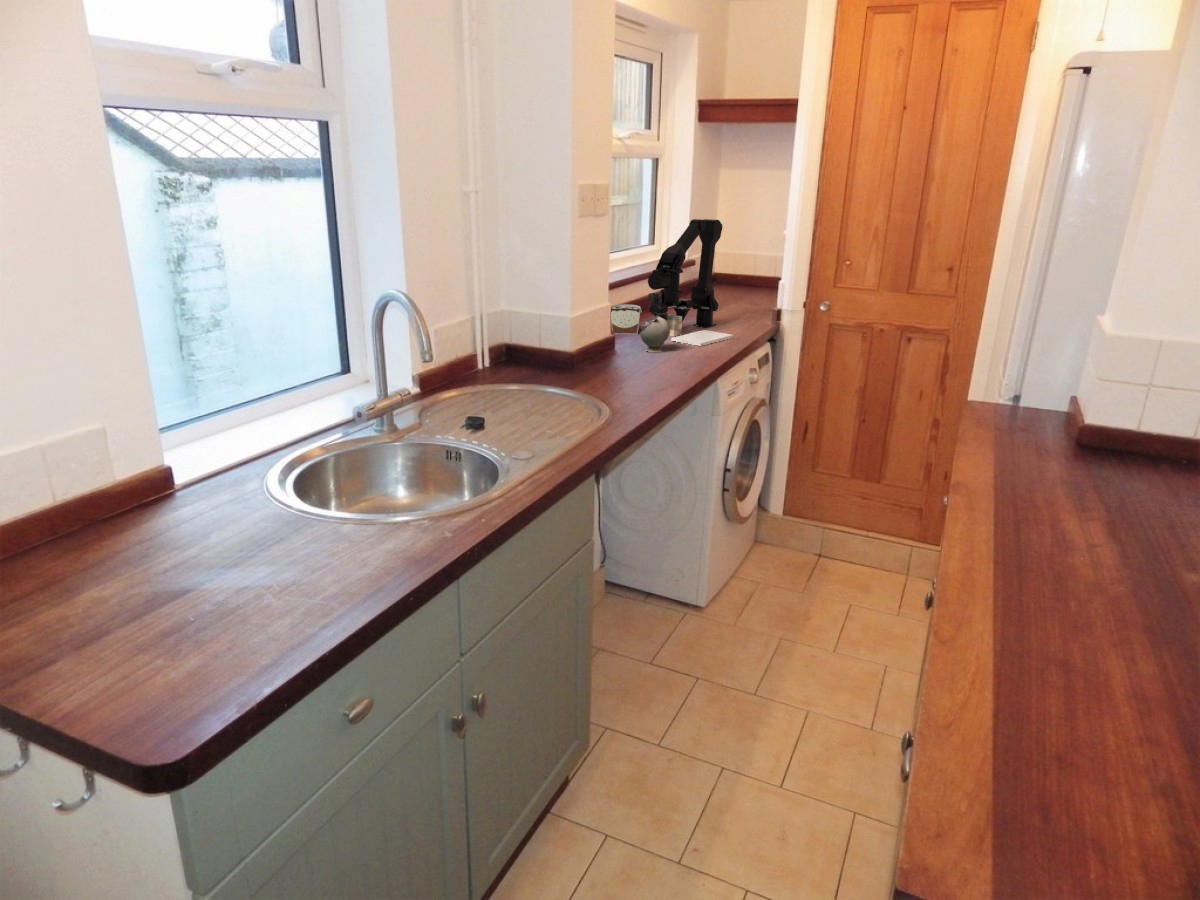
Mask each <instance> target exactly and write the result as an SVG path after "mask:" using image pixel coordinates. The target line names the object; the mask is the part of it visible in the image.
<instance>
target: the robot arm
mask: <svg viewBox="0 0 1200 900" xmlns="http://www.w3.org/2000/svg"><path fill="white" fill-rule="evenodd" d="M722 232H723V224H722V222H721V220H720V219H711V218H708V219H707V218H704V219H701V218H700V219H699V218H698V219H697V218H696V219H694V218H693V219H691V220H690V221H689V223H688V226H687V228H686V229H684V231H683V233H682V234H681V235H680V236H679V238H678V239H677V241H676V242H675V243H674V244H673V245H671V246H669V247H667V248H666V249H665V250H664V251H663V252H662V254H661V256H660V258H659V260H658V261H657V262H658V263H657V265H656V267H655V269H652V273H651V274H650V275H649V276H648V278H647V285H648V286H649V288H650V289H651V290H654V291H657V290H660V293H657V294H656V293H655V292H651V293H648V297H647V300H648V302H649V303H650V304H649V305H648V313H650V314H651V315H652V316H653V315H654V317H656V316H657V315H659V316H658V317H661V318H663V319H665V320H666V321H667V316H668V314H669V313H668V311H669V310H671V309H673V310H674V312H675V315H677V316H682V323H683V322H684V320H685V318H686V317H687V315H688V313H689V311H691V308H692V309H693V310H696V316H695V317H696V318H695V323H693V326H694V325H697V326H696V327H700V326H702V327H701V328H711V327H714V326H717V324H716V323H713V322H714V312H717V311H719V310H718V309H719V303H718V301H717V300H716V298H715V289H714V288H713V285H712V278H713V276H712V275H713V270H714V269H713V268H714V260H715V259H714V258H715V251H716V245H717V242H719V240H720V239H721V236H722ZM698 237H699V240H700V241H701V251H700V261H699V268H698V269H699V270H698V278H697V283H696V284H695V286H692V288H691V294H690V299H688V298H680V293H682V292H683V290H682V289H681V288H680V279H681V277H680V276H681V274H683V273H684V270H683V269H682V268H681V267H682V266H683V264H684V262H685V261H686V256H687V251H688V250H689V249H690V248H691V246H692V245H693V244H694V242H695V241H696V239H697V238H698ZM659 313H660V314H659Z"/></svg>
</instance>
